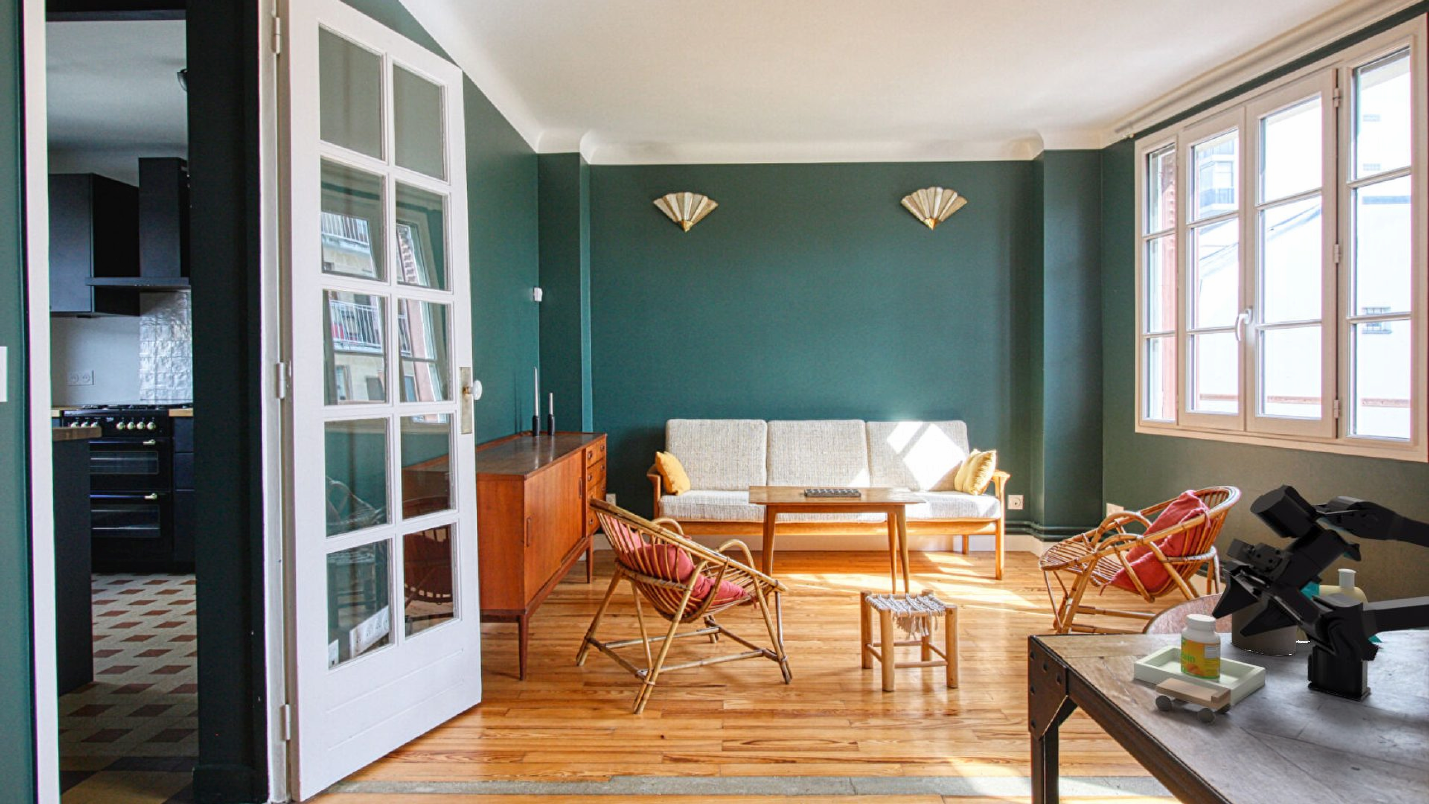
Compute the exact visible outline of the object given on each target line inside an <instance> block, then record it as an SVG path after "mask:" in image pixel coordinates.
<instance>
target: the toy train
mask: <svg viewBox="0 0 1429 804" xmlns="http://www.w3.org/2000/svg"><path fill="white" fill-rule="evenodd" d="M1337 571H1338V572H1339V573H1338V574H1339V579H1338V581H1339V585H1326V584H1323V585H1320V583H1321V582H1320V583H1319V584H1318V585H1317V584H1315V583H1312V582H1311V583H1310V584H1308V585H1307V586H1306V587H1305V588H1304V589H1303V590H1301V592H1302V593H1303V594H1305V595H1306V596H1307V597H1308V598H1309V599H1313V598H1312V597H1311V595H1317V596H1324V595H1329V594H1332V593H1339V592H1340V593H1343V594H1345V595H1347V596H1349V597H1352V598H1354V599H1356V600H1359V601H1361V602H1363V603H1369V602H1368V599H1367V596H1366V594H1365V593H1364V591H1363V590H1362V589H1361V588H1359V587H1358V586H1357V587H1356V586H1355V575H1356V573H1357V571H1355V570H1353V569H1350V568H1349V569H1348V568H1339V569H1337ZM1320 576H1321V574H1320V575H1319V577H1320ZM1320 578H1321V577H1320ZM1298 640H1299V641H1308V639H1307V637H1306V634H1305V632H1304V631H1303V630H1301V629H1300V628H1299V627H1298V625H1297V630H1296V641H1298ZM1369 640H1370V641H1371V642H1372V643H1374V644H1375V643H1376V644H1383V643H1384V642H1383V641H1382V640H1381V638H1379V637H1378V636H1377V634H1376V635H1374V636H1373V637H1371V638H1370V639H1369Z"/></svg>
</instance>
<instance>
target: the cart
mask: <svg viewBox="0 0 1429 804" xmlns="http://www.w3.org/2000/svg"><path fill="white" fill-rule="evenodd" d="M1155 686H1156V687H1155V692H1156V693H1157V694H1161V695H1159V696H1157V697H1155V703H1154V704H1155V705H1156V707H1157V708H1158V709H1159V710H1161V711H1164V712H1166V711H1169V710H1171V709H1172V707H1173V701H1172V700H1171V698H1175V700H1178V701H1181V702H1182V701H1185V702H1188V703H1191V704H1195V705H1198V706H1202V708H1200V709H1199V710H1198V711H1197V718H1198V719H1199V721H1200V722H1201V723H1203V724H1205V725H1211V724H1213V723H1214V722H1215V721H1216V718H1217V717H1216V714H1215V712H1214V711H1216V712H1219V714H1220V713H1221V714H1227V713H1228V712H1230V711H1231V708H1232V706H1231V704H1230V701H1231V689H1229V688H1225V687H1224V688H1222V689H1221V690H1219V691H1216V690H1213V689H1209V688H1206V687H1202V686H1198V685H1195V684H1191V683H1188V682H1184V681H1180V680H1177V679H1173V678H1169V679H1167V680H1165V681H1164V682H1162V683H1160V684H1158V685H1157V684H1155Z"/></svg>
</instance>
